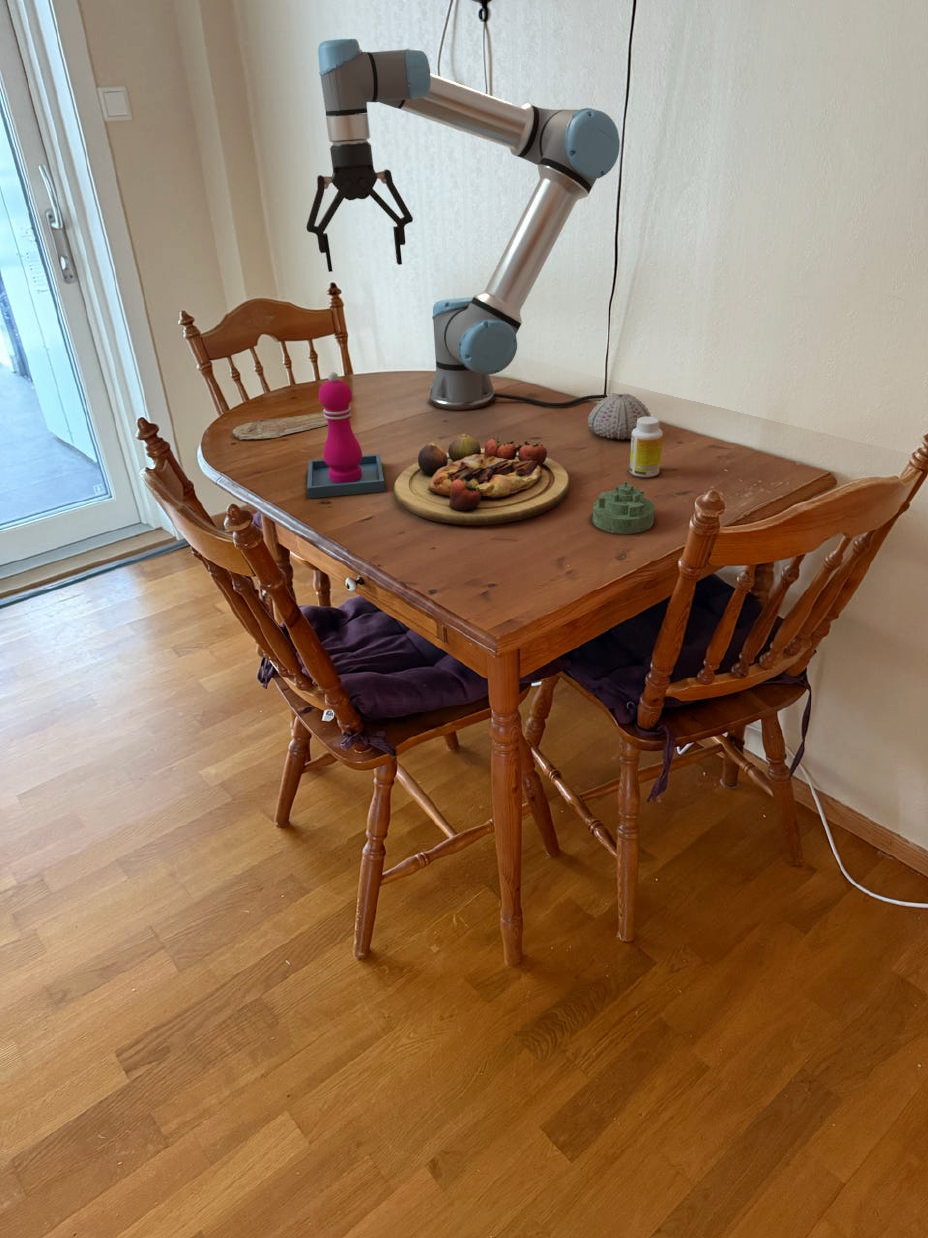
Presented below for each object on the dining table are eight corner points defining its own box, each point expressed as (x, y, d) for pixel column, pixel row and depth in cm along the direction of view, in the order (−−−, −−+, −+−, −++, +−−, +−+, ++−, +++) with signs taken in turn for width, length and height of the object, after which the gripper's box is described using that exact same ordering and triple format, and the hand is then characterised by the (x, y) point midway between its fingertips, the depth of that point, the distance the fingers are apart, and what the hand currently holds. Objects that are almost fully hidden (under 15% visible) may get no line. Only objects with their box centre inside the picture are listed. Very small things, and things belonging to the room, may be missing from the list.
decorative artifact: (599, 505, 145) (586, 530, 137) (601, 467, 141) (588, 490, 133) (658, 511, 142) (647, 537, 134) (661, 472, 138) (651, 496, 130)
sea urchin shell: (598, 419, 183) (599, 383, 178) (659, 426, 177) (662, 388, 173) (578, 439, 172) (579, 401, 168) (643, 447, 167) (646, 408, 163)
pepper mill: (371, 473, 160) (360, 368, 150) (352, 487, 155) (338, 379, 144) (339, 468, 163) (326, 365, 152) (319, 482, 158) (304, 376, 147)
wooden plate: (522, 543, 134) (521, 495, 129) (359, 509, 148) (354, 465, 143) (596, 473, 157) (598, 430, 153) (450, 449, 171) (448, 409, 167)
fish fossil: (332, 408, 197) (332, 403, 197) (352, 422, 190) (352, 417, 190) (227, 430, 185) (227, 425, 185) (244, 446, 178) (244, 441, 178)
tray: (380, 463, 166) (379, 453, 165) (385, 491, 154) (383, 480, 153) (309, 470, 165) (308, 460, 163) (308, 498, 153) (307, 487, 152)
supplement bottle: (665, 474, 155) (670, 421, 150) (640, 480, 153) (645, 426, 148) (647, 465, 159) (651, 412, 154) (623, 471, 157) (626, 418, 152)
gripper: (414, 136, 157) (425, 257, 168) (281, 147, 153) (300, 270, 165) (420, 137, 150) (430, 263, 162) (281, 149, 147) (301, 276, 159)
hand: (365, 267), depth 163 cm, fingers open, 13 cm apart
